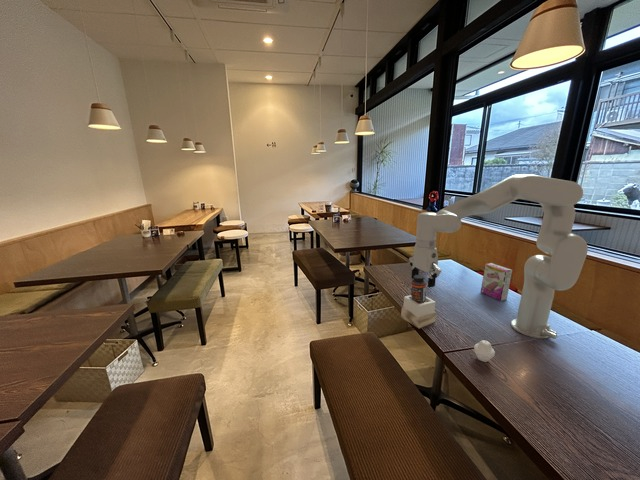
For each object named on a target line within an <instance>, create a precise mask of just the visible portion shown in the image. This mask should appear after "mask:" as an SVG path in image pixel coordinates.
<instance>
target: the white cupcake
mask: <svg viewBox="0 0 640 480" xmlns="http://www.w3.org/2000/svg"><path fill="white" fill-rule="evenodd" d="M473 349H474V353H475V356H476V357H477V359H478V360H479V361H480V362H484V363H486V362H489V361H491V359H492V358H494V357H495V354H496V351H495V350H494V348H493V347H492V344H491V343H490V342H489V341H488V340H483V339H482V340H480V341H479V342H478V343H476V344H475V345H474V346H473Z"/></svg>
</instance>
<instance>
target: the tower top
mask: <svg viewBox="0 0 640 480" xmlns="http://www.w3.org/2000/svg"><path fill="white" fill-rule="evenodd" d="M436 303H437V302H436V301H435V300H433V299H432V298H430V297H428V296H426V301H425V302H424V303H421V304H418V303H417V302H415V301H413V300H412V299H411V294H410V295H406V296H404V297H403V306H402V308H403V307H404V308H405V309H407V310H408V311H410V312H411V313H412V314H414V315H415V316H417V317H421V316H424V315H428V314H432V313H434V312H436V311H435V310H436Z"/></svg>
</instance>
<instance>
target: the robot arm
mask: <svg viewBox="0 0 640 480" xmlns="http://www.w3.org/2000/svg"><path fill="white" fill-rule="evenodd" d="M583 196H584V190H583V187H582V186H581V185H580V184H579V183H578V182H576V181H573V180H565V179H559V178H553V177H549V176H548V177H547V176H542V175H537V174H532V173H531V174H524V173H520V174H519V173H518V174H514V175H510V176H508V177H506V178H505V179H503V180H501V181H499V182H497V183H495V184H493V185H492V186H490V187H488V188H486V189H483V190H482V191H479V192H477V193H475V194H473V195H470V196H467V197H466V198H462V199H460V200H457V201H455V202H453V203H451V204H449V205H446V206H445V207H444V208H442V209H440V210H439V211H437V212H436V213H435V212H429V211H426V212H424V211H423V212H421V213H418V215H417V216H416V217H417V220H416V232H415V233H416V235H415V245H414V248H413V252H412V256H411V257H409V258H408V260H409V265H410V269H411V279H412V280H414V279H413V278H414V276H415V275H419V272H420V271H422V272H425V273H427V275H428V278H427V279H428V280H427V288H434V287H435V286H436V279H437V278H438V277H439V276H440V274H441V273H442V269H441V268H440V267H439V256H438V255H439V254H438V248H437V245H438V244H437V232H440V233H447V234H450V233H455V232H458V231H459V230H461V229H460V228H462V219H465V218H467V217H469V216H476V215H486V214H489V213H492V212H494V211H496V210H499V209H501V208H503V207H505V206H506V205H509V204H511V203H513V202H514V201H517V200H524V201H530V202H534V203H537V204H539V205H540V206H541V208H542V211H543V217H542V220H541V221H542V222H541V225H540V228H539V231H538V234H537V238H536V240H535V241H536V243H535V244H536V247H537V249H539V250H540V251H541V252H543V253H545V254H547V255H545V254H535V255H532V256H530V257H529V258H528V259H527V260H526V261H525V263H524V265H523V266H524V268H523V273H524V274H523V287H522V291H521V296H520V301H519V305H518V311H517V316H516V318H514V319H512V320H511V321H510V325H511V326H510V327H512V329H514V330H515V331H517V333H520V334H522V335H525V336H527V337H530V338H534V339H547V338H551V339H553V340H556V339H557V338H558V332H557V331H555V330H553V329H551V328H550V327H551V324H549V323H548V321H549V317H550V312H551V309H552V305H553V300H554V297H555V291H568V290H569V289H571V288H572V287H573V286H575V284H576V283H577V282H578V279H579V277H580V275H581V272H582V270H583V267H584V263H585V261H586V258H587V254H588V250H589V249H588V244H587V242H586V240H585V239H584V238H583V237H582V236H581V235H578V234H575V233H572V230H573V226H574V223H575V219H576V210H575V205H576V204H578V203H579V202H580V201H581V199H582V198H583ZM548 255H549V256H548Z"/></svg>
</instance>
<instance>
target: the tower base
mask: <svg viewBox="0 0 640 480" xmlns="http://www.w3.org/2000/svg"><path fill="white" fill-rule="evenodd" d="M400 310H401V313H400V314H401V315H400V318H402V319H403V320H405V321H406V322H408V323H409V324H411V325H413V326H414V327H416V328H418V329H422V328H424V327H426V326H429V325H431V324H433V323H435V322H436V317H437V311H435V312H434V313H432V314H428V315H424V316H421V317H417V316H415V315H414V314H412V313H411V312H410V311H408V310H407V309H405V308H404V307H403V306H402V307H401V309H400Z"/></svg>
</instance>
